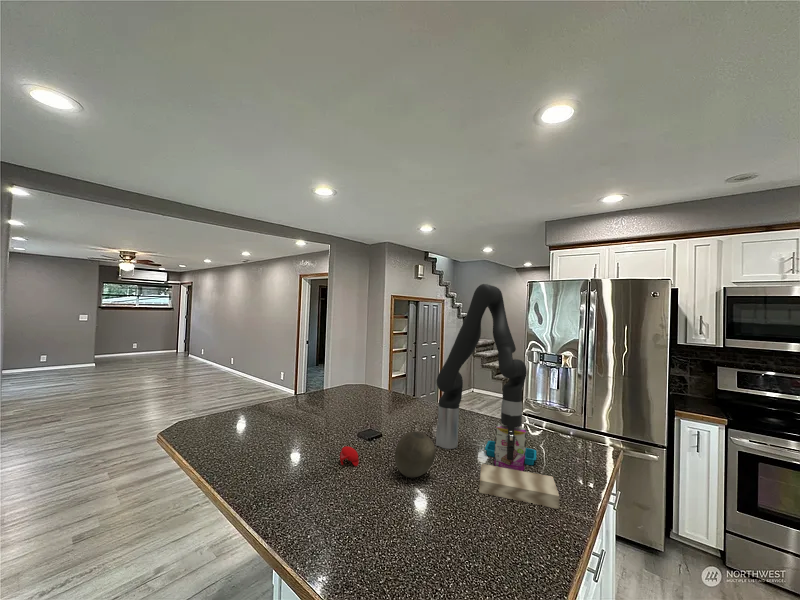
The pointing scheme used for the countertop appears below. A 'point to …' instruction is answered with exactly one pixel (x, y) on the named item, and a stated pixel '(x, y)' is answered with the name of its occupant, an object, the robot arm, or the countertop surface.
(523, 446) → the candy bar box
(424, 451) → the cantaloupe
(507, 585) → the countertop surface
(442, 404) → the robot arm
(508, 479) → the birch stand
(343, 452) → the cap
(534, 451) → the ice cube tray
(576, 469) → the countertop surface
